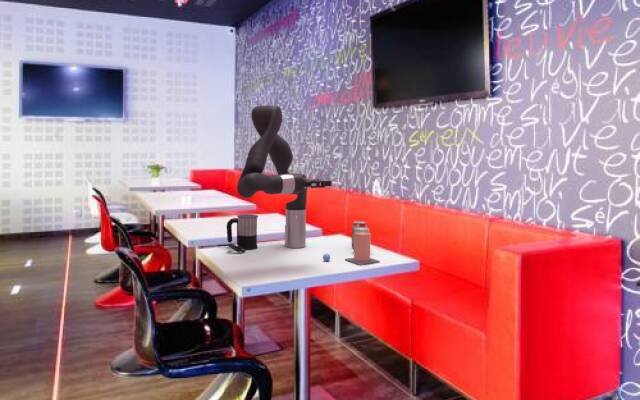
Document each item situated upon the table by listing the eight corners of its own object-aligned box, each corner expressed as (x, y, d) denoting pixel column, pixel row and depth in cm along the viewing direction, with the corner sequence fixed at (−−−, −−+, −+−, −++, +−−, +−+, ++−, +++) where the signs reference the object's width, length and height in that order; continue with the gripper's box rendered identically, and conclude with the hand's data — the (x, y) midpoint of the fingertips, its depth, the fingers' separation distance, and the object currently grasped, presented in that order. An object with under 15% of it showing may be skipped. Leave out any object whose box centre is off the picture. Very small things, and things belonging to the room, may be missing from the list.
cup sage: (351, 252, 218) (351, 227, 216) (362, 251, 221) (362, 226, 220) (359, 255, 213) (360, 230, 211) (371, 253, 216) (371, 228, 215)
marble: (321, 260, 202) (321, 253, 202) (327, 259, 204) (327, 252, 204) (325, 262, 200) (325, 254, 200) (331, 261, 202) (331, 254, 201)
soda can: (366, 250, 224) (366, 223, 222) (350, 249, 225) (350, 223, 224) (367, 247, 230) (368, 221, 229) (352, 246, 232) (353, 220, 230)
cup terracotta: (351, 259, 203) (351, 232, 201) (363, 257, 206) (363, 231, 205) (361, 262, 198) (361, 235, 196) (372, 260, 201) (373, 233, 200)
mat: (344, 260, 203) (344, 259, 203) (364, 257, 209) (364, 256, 209) (360, 265, 195) (360, 264, 195) (379, 262, 201) (379, 261, 201)
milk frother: (255, 245, 231) (255, 213, 229) (262, 252, 216) (262, 218, 214) (224, 247, 226) (224, 214, 225) (229, 254, 212) (229, 220, 210)
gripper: (299, 175, 181) (335, 174, 190) (279, 172, 193) (315, 171, 202) (298, 195, 182) (335, 193, 191) (279, 192, 194) (314, 190, 203)
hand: (324, 182), depth 196 cm, fingers open, 8 cm apart
